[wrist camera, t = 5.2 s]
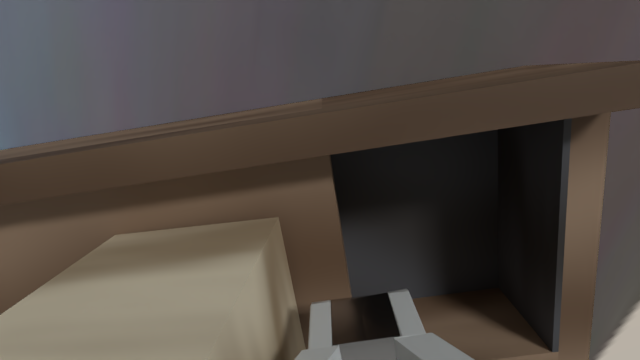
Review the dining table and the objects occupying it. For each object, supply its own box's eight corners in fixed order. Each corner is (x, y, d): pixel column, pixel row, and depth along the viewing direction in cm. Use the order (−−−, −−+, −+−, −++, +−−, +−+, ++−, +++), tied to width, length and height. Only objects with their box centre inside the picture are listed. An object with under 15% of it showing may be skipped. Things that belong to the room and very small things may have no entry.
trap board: (-155, 175, 14) (-491, 245, 8) (525, 65, 12) (698, 57, 7) (2, 443, 18) (-145, 612, 12) (519, 384, 17) (622, 544, 11)
